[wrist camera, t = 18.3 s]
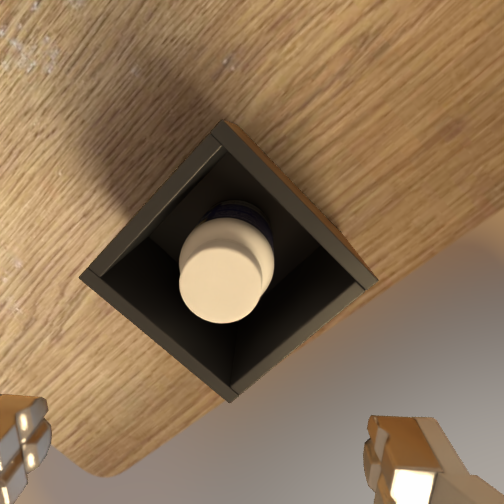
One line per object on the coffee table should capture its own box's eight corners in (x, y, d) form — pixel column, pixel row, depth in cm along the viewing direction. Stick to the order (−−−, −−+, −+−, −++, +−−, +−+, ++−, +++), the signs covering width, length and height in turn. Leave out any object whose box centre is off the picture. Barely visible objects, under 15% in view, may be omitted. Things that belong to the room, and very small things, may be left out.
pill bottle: (203, 192, 25) (172, 221, 16) (279, 206, 25) (286, 243, 17) (193, 264, 26) (159, 325, 18) (264, 277, 27) (264, 344, 18)
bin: (236, 124, 24) (222, 118, 16) (343, 235, 26) (379, 280, 18) (135, 234, 27) (77, 277, 18) (239, 327, 29) (229, 404, 20)
